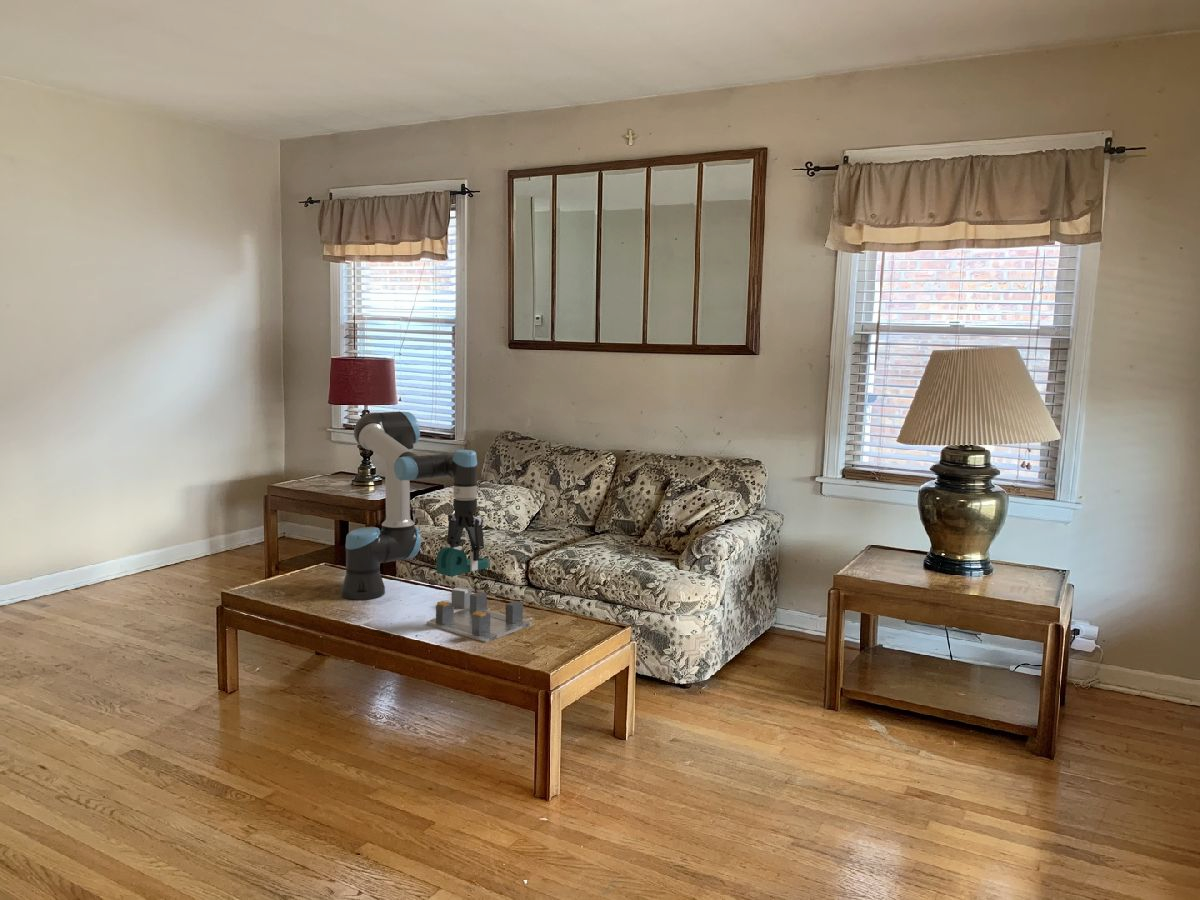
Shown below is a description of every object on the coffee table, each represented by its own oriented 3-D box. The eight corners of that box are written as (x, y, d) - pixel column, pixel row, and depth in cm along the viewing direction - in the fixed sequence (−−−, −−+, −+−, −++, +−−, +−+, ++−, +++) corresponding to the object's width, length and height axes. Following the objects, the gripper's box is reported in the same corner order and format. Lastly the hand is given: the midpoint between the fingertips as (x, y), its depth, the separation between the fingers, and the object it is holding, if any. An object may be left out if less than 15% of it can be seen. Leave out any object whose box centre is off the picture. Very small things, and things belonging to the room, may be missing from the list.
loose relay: (451, 606, 315) (451, 589, 314) (458, 602, 320) (458, 585, 319) (464, 608, 313) (464, 591, 312) (471, 604, 318) (471, 587, 317)
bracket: (450, 576, 287) (450, 552, 286) (436, 573, 292) (436, 548, 291) (493, 566, 301) (493, 543, 300) (479, 563, 305) (479, 540, 304)
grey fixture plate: (426, 624, 295) (426, 601, 294) (474, 609, 313) (474, 586, 312) (485, 642, 280) (485, 617, 279) (532, 624, 298) (532, 601, 297)
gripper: (435, 496, 296) (435, 565, 299) (479, 503, 285) (479, 575, 287) (451, 493, 302) (452, 561, 305) (495, 500, 291) (496, 571, 293)
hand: (465, 568), depth 296 cm, fingers closed on bracket, 7 cm apart
